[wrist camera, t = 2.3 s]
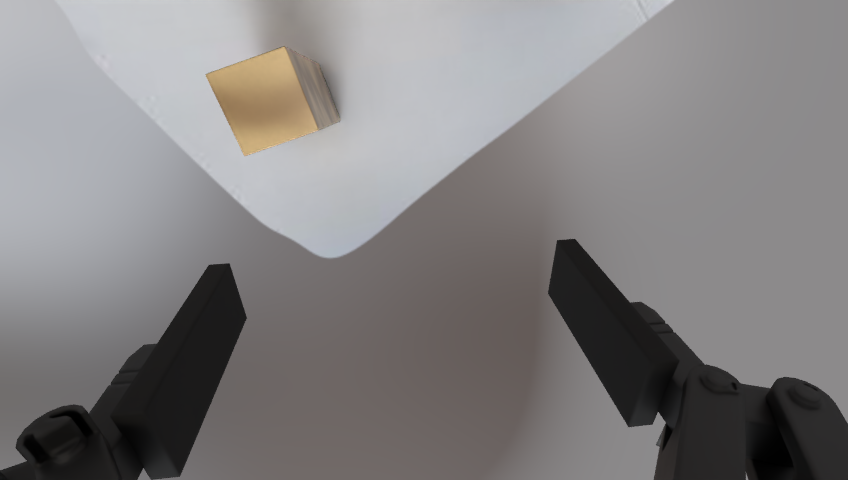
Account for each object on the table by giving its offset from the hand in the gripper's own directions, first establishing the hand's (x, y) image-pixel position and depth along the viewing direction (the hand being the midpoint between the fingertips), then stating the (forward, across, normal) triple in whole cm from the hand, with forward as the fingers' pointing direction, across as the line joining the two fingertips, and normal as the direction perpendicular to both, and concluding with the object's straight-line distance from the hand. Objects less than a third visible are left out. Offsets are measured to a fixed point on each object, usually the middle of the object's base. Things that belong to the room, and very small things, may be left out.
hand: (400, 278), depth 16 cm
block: (+24, +7, -3) cm, 25 cm away
